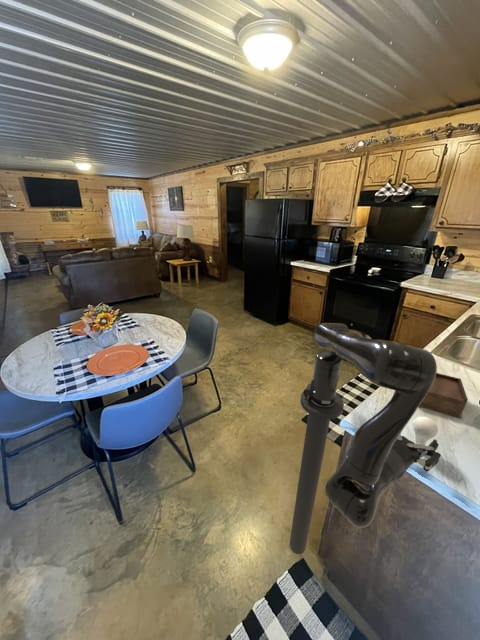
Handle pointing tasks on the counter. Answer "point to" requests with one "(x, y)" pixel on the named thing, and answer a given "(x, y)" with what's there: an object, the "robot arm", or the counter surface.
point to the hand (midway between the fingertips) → (418, 432)
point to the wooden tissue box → (446, 396)
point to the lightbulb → (424, 429)
